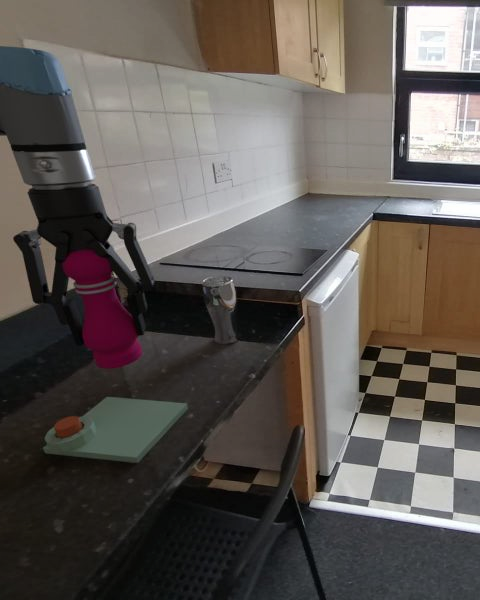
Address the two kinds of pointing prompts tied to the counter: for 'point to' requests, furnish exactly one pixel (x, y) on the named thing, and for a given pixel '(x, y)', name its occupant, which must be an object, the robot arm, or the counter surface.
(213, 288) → the beer glass
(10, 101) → the robot arm
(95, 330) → the pepper mill
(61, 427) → the power button
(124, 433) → the scale
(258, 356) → the counter surface
